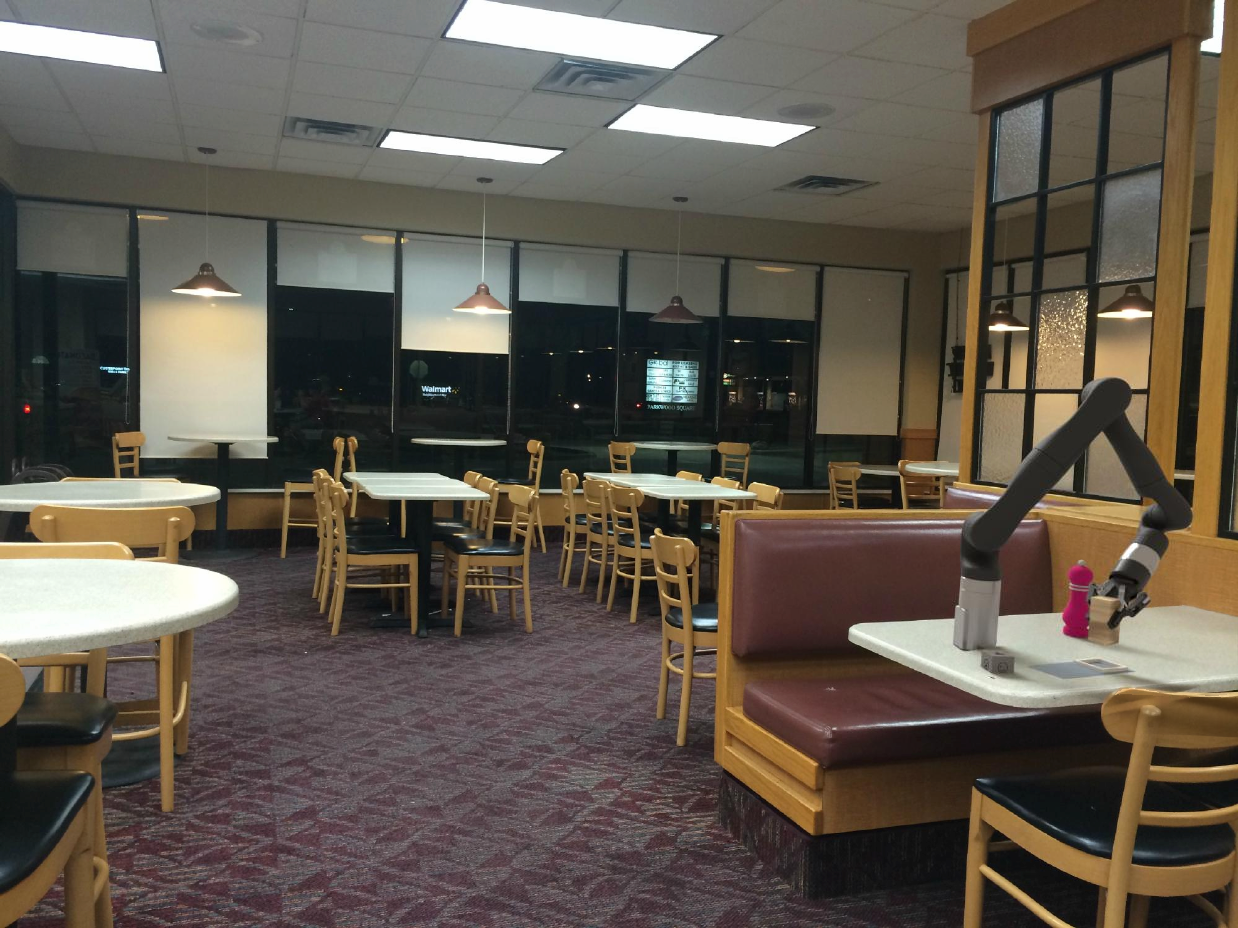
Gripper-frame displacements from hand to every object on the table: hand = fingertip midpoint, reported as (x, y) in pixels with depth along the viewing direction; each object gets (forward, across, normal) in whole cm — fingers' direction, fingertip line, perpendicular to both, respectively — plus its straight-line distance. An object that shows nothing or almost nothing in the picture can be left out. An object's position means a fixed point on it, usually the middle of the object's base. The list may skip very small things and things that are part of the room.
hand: (1099, 623), depth 215 cm
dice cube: (+25, -8, -9) cm, 28 cm away
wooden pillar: (+2, 0, +4) cm, 5 cm away
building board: (+11, -1, +5) cm, 12 cm away
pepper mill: (-14, -26, +30) cm, 42 cm away
